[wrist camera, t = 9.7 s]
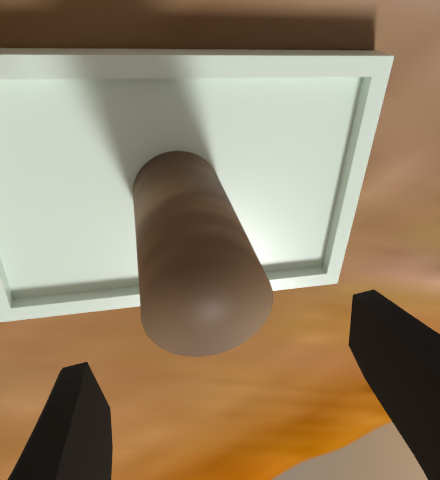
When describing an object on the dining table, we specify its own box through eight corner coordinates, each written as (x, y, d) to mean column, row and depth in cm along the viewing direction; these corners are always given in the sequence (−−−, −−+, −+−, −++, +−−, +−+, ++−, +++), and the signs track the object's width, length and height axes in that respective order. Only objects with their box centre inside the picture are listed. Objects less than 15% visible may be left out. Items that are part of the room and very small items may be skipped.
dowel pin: (213, 142, 18) (269, 241, 11) (224, 219, 20) (275, 339, 13) (122, 160, 17) (125, 274, 11) (144, 237, 19) (157, 369, 13)
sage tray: (375, 50, 18) (394, 56, 16) (326, 267, 24) (337, 283, 23) (-84, 47, 14) (-103, 54, 13) (4, 301, 21) (-3, 322, 20)
